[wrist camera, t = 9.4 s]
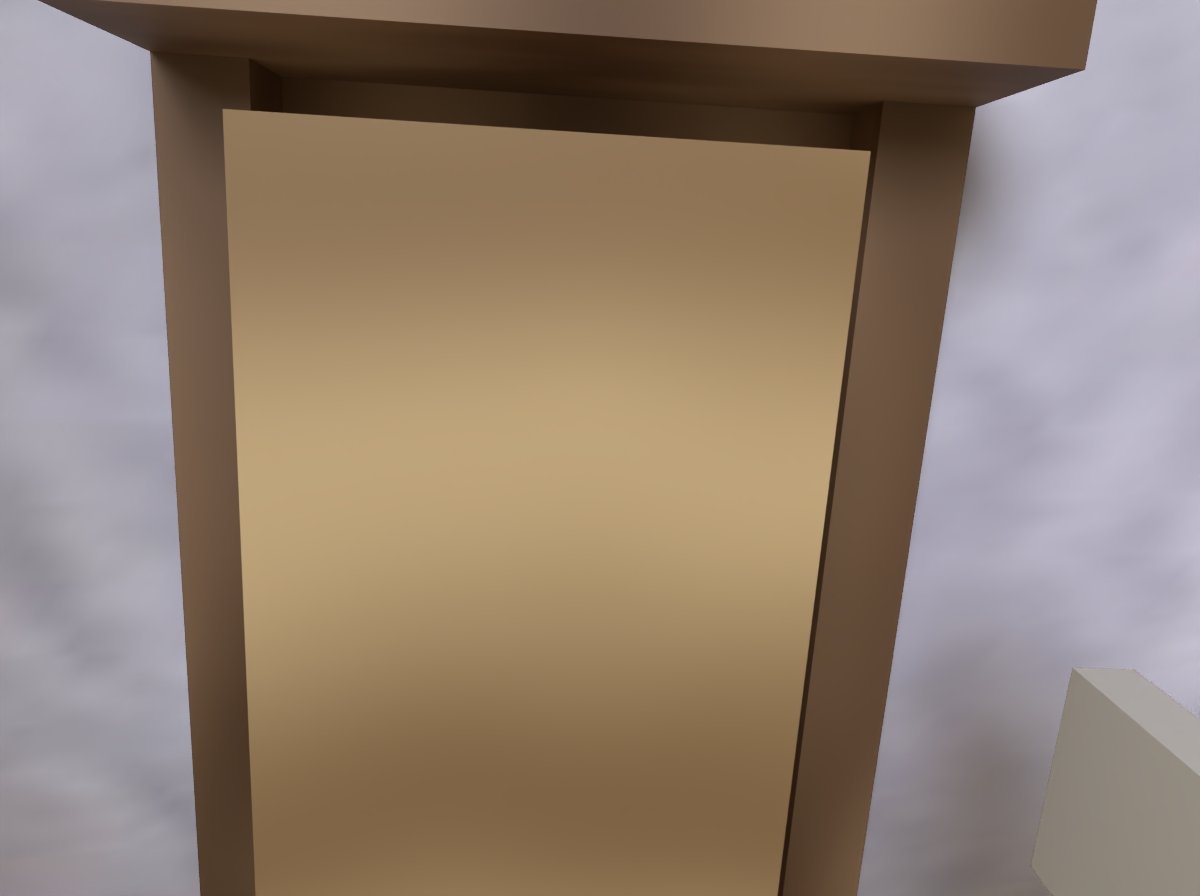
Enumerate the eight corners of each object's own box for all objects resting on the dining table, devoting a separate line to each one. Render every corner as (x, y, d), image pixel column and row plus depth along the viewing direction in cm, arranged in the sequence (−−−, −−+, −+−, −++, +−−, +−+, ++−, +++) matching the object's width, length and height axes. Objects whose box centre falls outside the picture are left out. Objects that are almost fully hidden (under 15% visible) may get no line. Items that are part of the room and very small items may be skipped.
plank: (340, 153, 12) (223, 109, 8) (773, 182, 12) (870, 151, 8) (350, 994, 15) (270, 1260, 11) (690, 1002, 15) (730, 1265, 11)
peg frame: (255, 966, 20) (138, 1228, 15) (210, -70, 15) (6, -247, 10) (799, 979, 21) (877, 1238, 15) (934, -17, 15) (1125, -157, 10)
